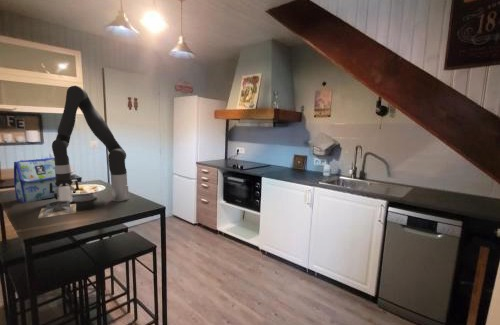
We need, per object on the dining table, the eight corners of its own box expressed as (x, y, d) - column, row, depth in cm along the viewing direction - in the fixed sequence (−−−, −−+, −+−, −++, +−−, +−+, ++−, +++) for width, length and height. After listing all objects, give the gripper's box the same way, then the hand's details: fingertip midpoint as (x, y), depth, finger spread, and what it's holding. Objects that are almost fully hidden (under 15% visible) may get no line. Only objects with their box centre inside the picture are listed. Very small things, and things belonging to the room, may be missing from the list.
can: (61, 203, 158) (59, 184, 156) (74, 202, 160) (72, 183, 159) (58, 206, 152) (56, 186, 150) (70, 205, 154) (69, 185, 153)
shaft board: (76, 206, 153) (75, 203, 153) (76, 215, 138) (75, 212, 138) (42, 210, 144) (41, 208, 144) (38, 221, 129) (37, 218, 129)
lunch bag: (24, 205, 154) (19, 162, 150) (14, 200, 162) (9, 160, 158) (66, 196, 172) (62, 158, 168) (55, 192, 181) (51, 156, 177)
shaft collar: (72, 204, 151) (71, 199, 151) (71, 212, 138) (71, 207, 137) (45, 207, 145) (45, 202, 144) (42, 217, 131) (42, 211, 130)
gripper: (77, 170, 160) (79, 195, 163) (48, 172, 152) (51, 198, 155) (77, 172, 154) (79, 198, 157) (47, 174, 146) (50, 201, 149)
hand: (65, 198), depth 156 cm, fingers open, 8 cm apart
